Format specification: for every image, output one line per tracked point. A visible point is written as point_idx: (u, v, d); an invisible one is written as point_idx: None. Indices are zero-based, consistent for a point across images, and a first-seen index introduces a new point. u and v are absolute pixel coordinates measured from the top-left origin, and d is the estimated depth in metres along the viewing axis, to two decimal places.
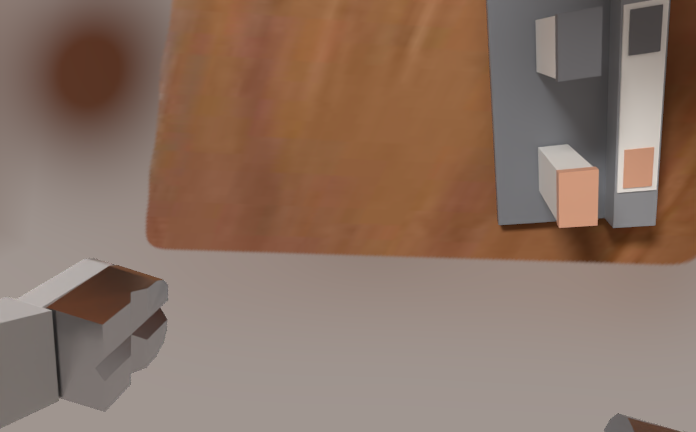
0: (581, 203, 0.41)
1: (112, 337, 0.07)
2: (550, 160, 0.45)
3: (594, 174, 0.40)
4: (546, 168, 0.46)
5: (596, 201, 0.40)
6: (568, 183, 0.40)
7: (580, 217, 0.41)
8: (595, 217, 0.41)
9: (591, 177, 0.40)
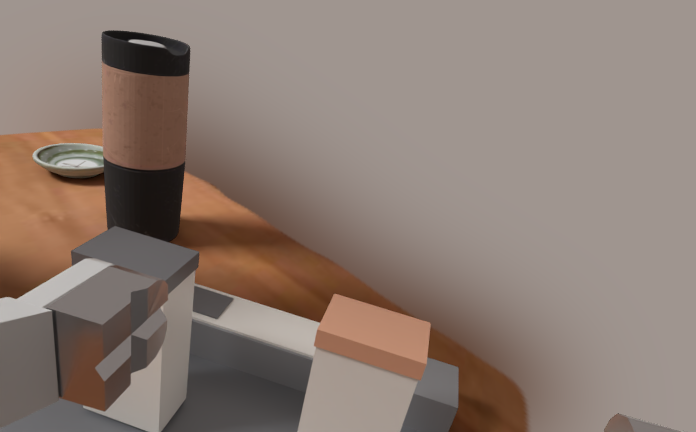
0: (384, 324, 0.23)
1: (112, 337, 0.07)
2: (304, 402, 0.23)
3: (340, 299, 0.24)
4: (320, 430, 0.24)
5: (387, 311, 0.24)
6: (342, 325, 0.22)
7: (411, 334, 0.22)
8: (416, 320, 0.23)
9: (343, 302, 0.24)
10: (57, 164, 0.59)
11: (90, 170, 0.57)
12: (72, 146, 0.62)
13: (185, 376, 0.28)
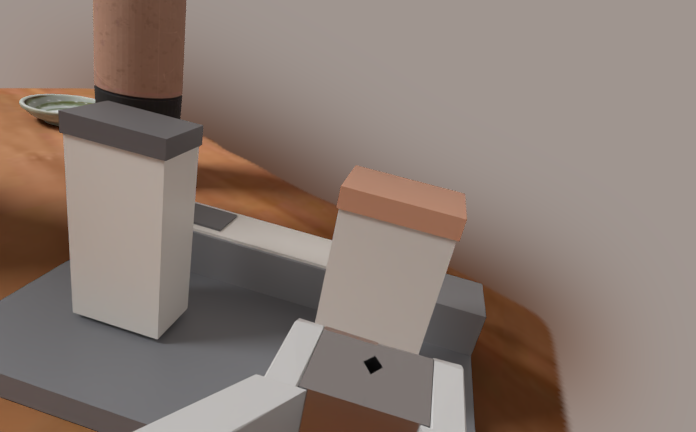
0: (415, 190, 0.20)
1: None
2: (323, 284, 0.21)
3: (363, 169, 0.21)
4: (341, 317, 0.21)
5: (415, 181, 0.21)
6: (368, 186, 0.19)
7: (445, 198, 0.20)
8: (448, 190, 0.21)
9: (367, 172, 0.21)
10: None
11: None
12: (61, 97, 0.59)
13: (186, 280, 0.26)
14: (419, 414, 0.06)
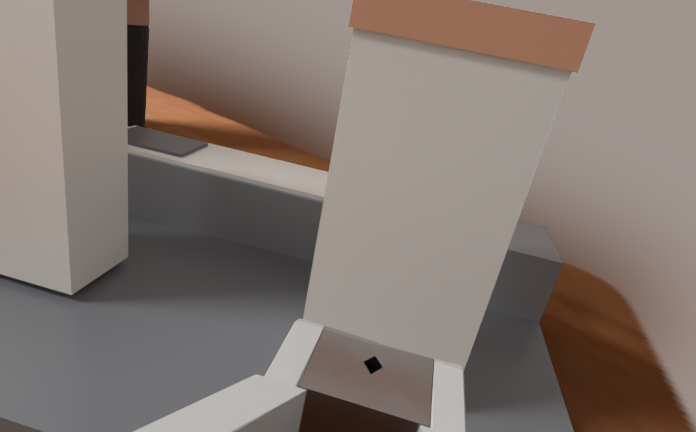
0: None
1: None
2: None
3: None
4: (358, 239, 0.13)
5: None
6: None
7: None
8: None
9: None
10: None
11: None
12: None
13: (122, 210, 0.17)
14: (419, 414, 0.06)
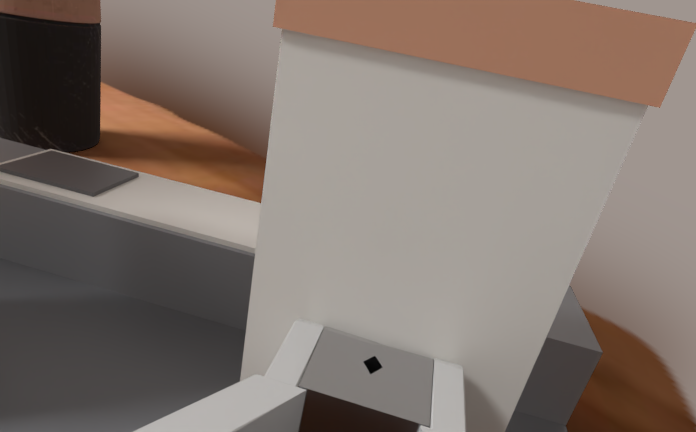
0: None
1: None
2: None
3: None
4: None
5: None
6: None
7: None
8: None
9: None
10: None
11: None
12: None
13: None
14: (419, 414, 0.06)
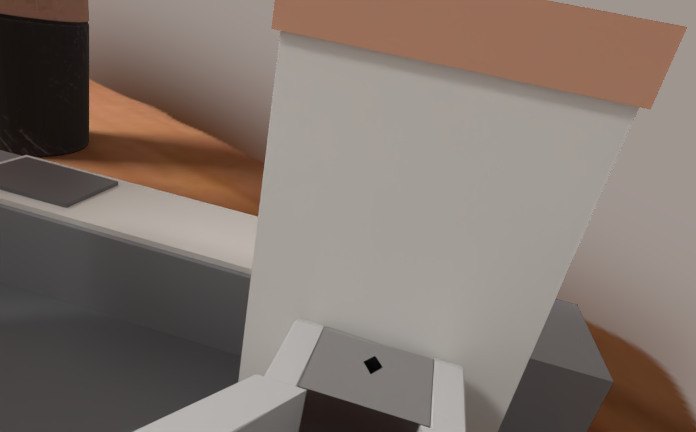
0: None
1: None
2: None
3: None
4: None
5: None
6: None
7: None
8: None
9: None
10: None
11: None
12: None
13: None
14: (419, 414, 0.06)
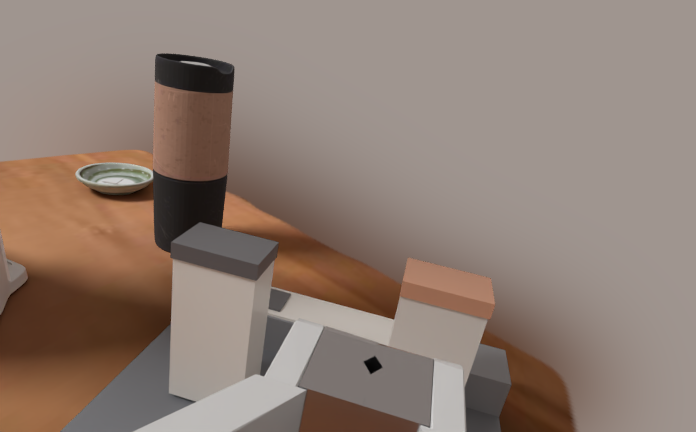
0: (454, 278, 0.27)
1: None
2: None
3: (414, 261, 0.29)
4: None
5: (453, 269, 0.28)
6: (421, 279, 0.27)
7: (477, 285, 0.27)
8: (478, 276, 0.28)
9: (417, 263, 0.28)
10: (97, 182, 0.62)
11: (130, 186, 0.60)
12: (110, 165, 0.66)
13: (260, 361, 0.31)
14: (419, 414, 0.06)
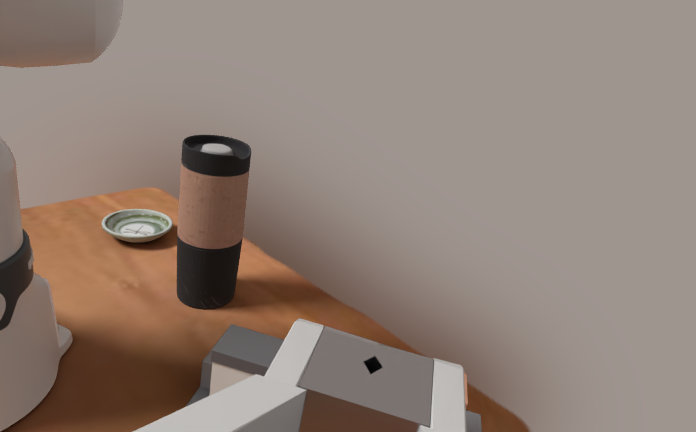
0: None
1: None
2: None
3: None
4: None
5: None
6: None
7: None
8: None
9: None
10: (121, 230, 0.68)
11: (151, 237, 0.66)
12: (131, 212, 0.72)
13: None
14: (419, 414, 0.06)
